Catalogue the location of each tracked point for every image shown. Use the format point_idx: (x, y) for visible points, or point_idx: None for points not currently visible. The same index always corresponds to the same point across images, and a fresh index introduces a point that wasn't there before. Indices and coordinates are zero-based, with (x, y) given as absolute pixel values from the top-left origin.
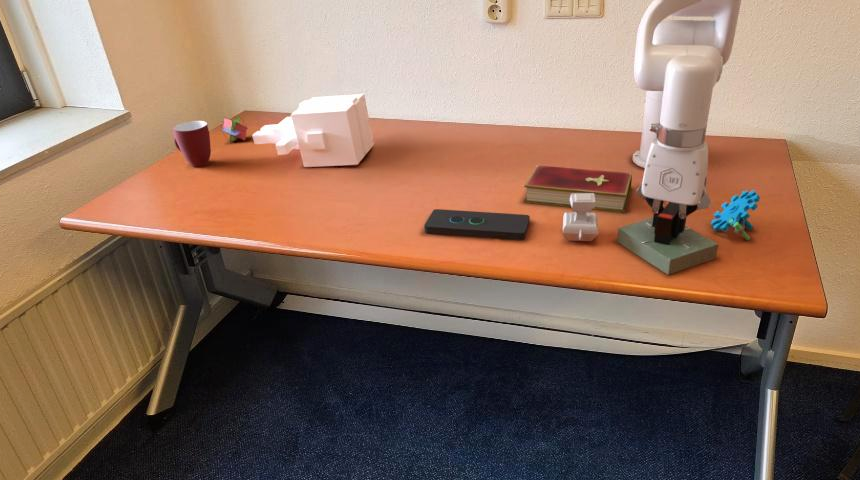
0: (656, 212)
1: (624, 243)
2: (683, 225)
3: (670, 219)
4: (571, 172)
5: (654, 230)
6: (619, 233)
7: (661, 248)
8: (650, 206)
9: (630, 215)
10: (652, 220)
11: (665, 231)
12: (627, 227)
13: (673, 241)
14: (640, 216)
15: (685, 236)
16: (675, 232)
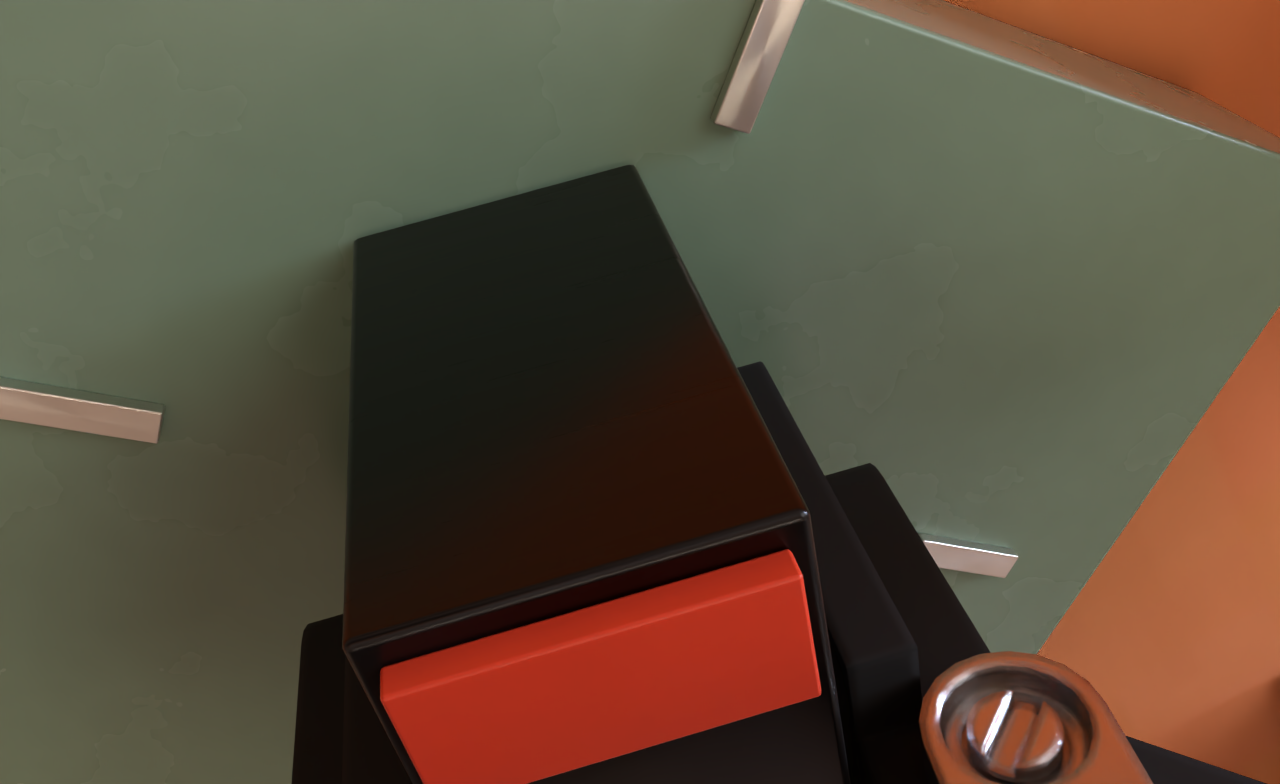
0: (948, 692)
1: (1093, 61)
2: (309, 752)
3: (397, 636)
4: None
5: (775, 390)
6: (1274, 139)
7: (373, 37)
8: (1186, 763)
9: (1217, 673)
10: None
11: (463, 359)
12: (1228, 296)
13: None
14: (1120, 717)
15: None
16: None
